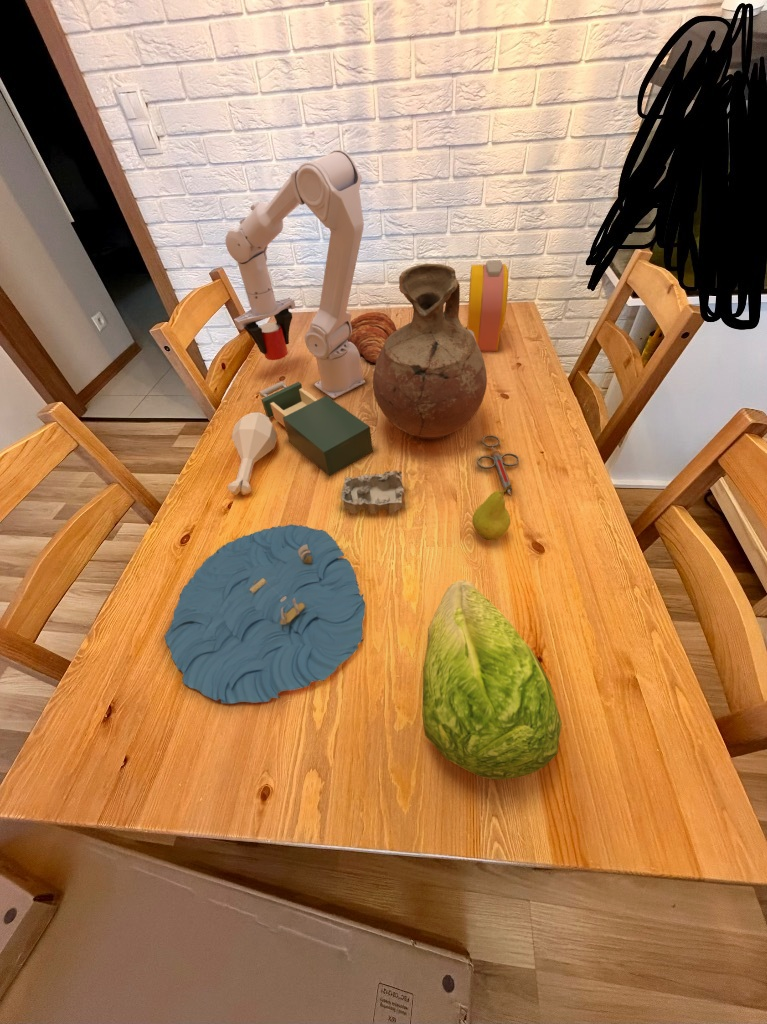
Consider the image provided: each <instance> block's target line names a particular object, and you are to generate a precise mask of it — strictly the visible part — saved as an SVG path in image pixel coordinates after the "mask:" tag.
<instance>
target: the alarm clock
mask: <svg viewBox="0 0 767 1024" xmlns="http://www.w3.org/2000/svg"><path fill="white" fill-rule="evenodd" d="M469 278H470V279H469V291H468V292H469V293H468V307H467V308H468V309H467V324H466V329H468V330H471V331H472V332H473V333H474V336H475V338H476V342H477V344H478V346H479V348H480V351H481V352H498V351H499V343H500V337H501V336H500V335H501V332H502V330H503V329H504V326H505V320H506V313H507V304H508V296H509V295H508V293H509V269H508V266H507V264H506V263H503V261H501V260H500V259H496V260H494V259H492V260H487V261H486V263H485V264H471V266H470V277H469Z"/></svg>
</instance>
